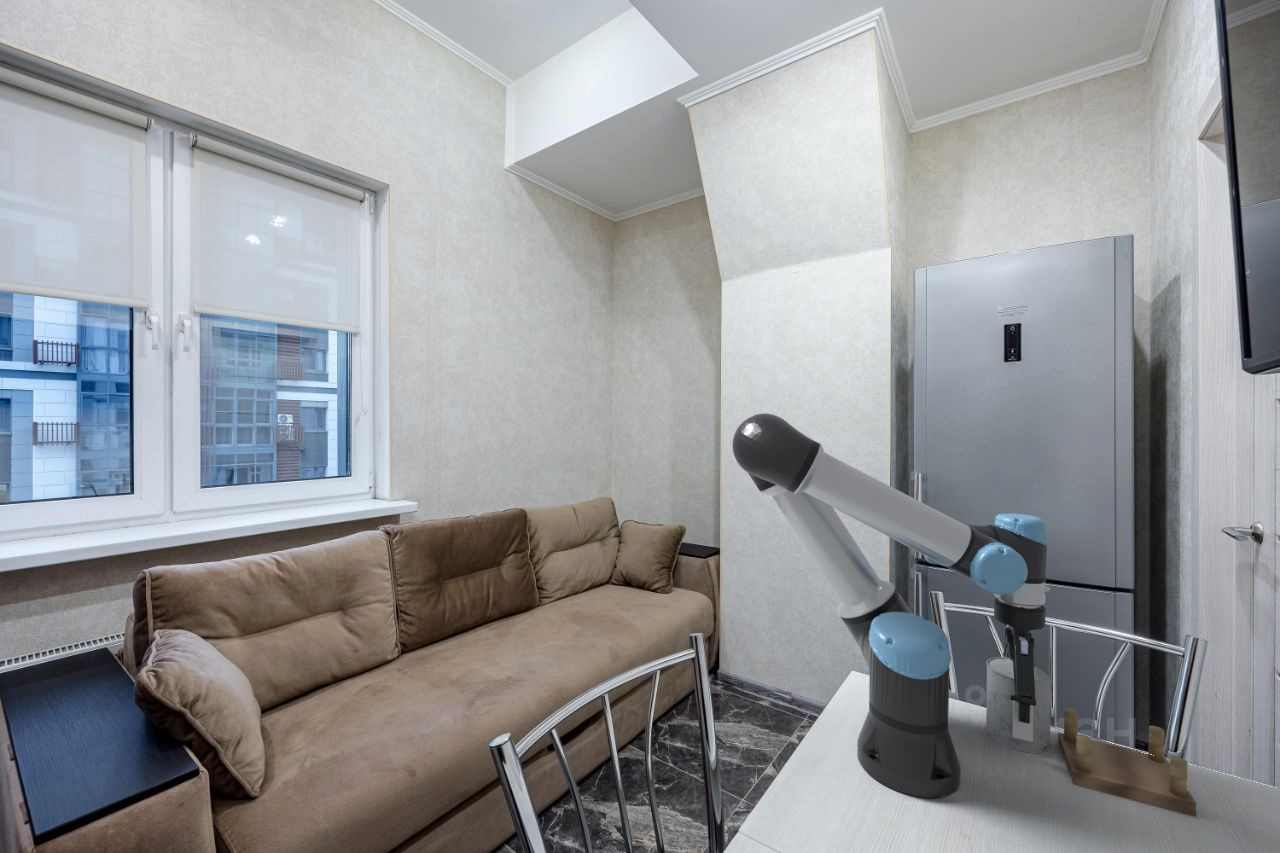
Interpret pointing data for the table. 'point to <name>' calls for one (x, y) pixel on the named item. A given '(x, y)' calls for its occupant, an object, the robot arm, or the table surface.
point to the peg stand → (1126, 768)
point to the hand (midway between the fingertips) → (1017, 719)
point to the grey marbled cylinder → (1002, 706)
